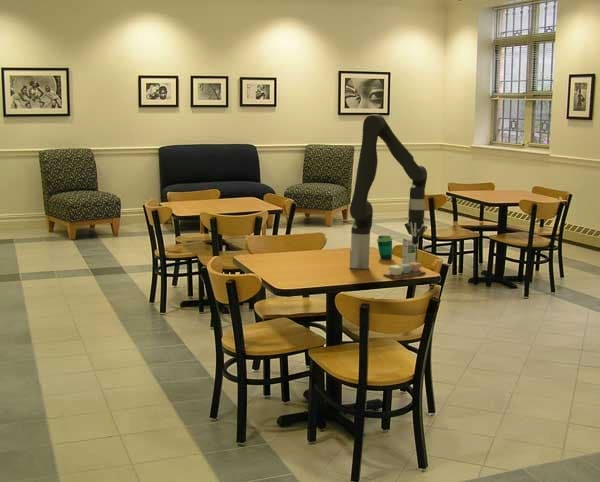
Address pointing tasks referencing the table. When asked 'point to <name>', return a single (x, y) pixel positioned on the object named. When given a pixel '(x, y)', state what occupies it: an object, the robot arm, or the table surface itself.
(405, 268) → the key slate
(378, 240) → the cup
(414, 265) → the key terracotta
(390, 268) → the key cream
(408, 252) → the syrup box
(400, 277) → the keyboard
